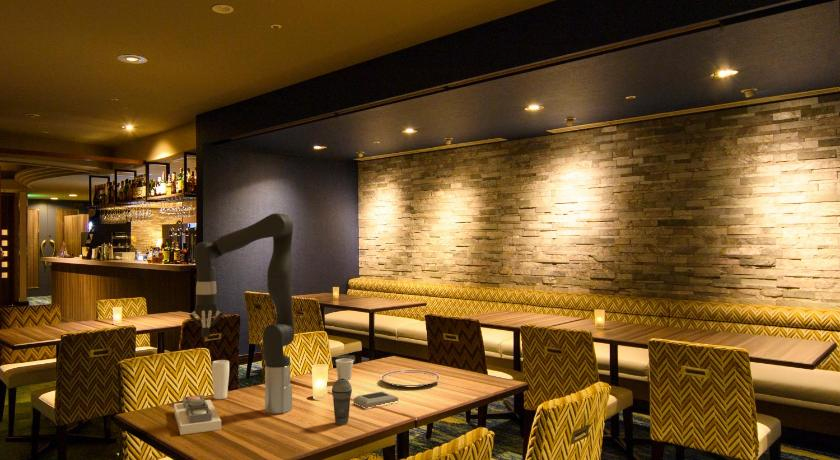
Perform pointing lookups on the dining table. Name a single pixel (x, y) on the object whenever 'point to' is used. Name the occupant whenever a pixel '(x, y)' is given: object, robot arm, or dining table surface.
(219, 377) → the white tumbler
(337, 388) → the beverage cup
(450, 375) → the dining table surface
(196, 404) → the slate button
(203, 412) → the sage button
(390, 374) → the dinner plate
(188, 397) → the terracotta button
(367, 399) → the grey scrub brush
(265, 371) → the robot arm
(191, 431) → the button console
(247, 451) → the dining table surface
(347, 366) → the dixie cup
